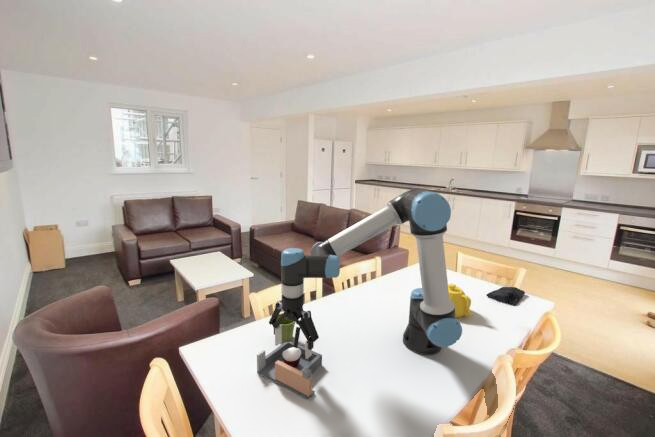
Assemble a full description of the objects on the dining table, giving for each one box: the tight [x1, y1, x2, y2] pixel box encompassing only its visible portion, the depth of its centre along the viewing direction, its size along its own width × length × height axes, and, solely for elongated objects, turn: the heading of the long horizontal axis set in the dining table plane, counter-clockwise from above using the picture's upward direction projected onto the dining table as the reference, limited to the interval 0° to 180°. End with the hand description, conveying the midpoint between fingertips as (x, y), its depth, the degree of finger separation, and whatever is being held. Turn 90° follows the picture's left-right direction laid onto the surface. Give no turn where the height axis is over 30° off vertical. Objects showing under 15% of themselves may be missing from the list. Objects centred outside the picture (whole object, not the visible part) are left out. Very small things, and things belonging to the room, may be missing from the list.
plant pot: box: [276, 312, 296, 343], centre depth 128 cm, size 9×9×9 cm
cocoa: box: [282, 326, 301, 368], centre depth 110 cm, size 10×6×12 cm, turn 134°
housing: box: [256, 340, 323, 401], centre depth 108 cm, size 22×16×7 cm
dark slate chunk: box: [486, 286, 526, 306], centre depth 174 cm, size 15×22×5 cm
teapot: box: [448, 283, 472, 319], centre depth 156 cm, size 25×18×14 cm
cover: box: [275, 360, 313, 397], centre depth 100 cm, size 14×2×8 cm, turn 57°
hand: (293, 349), depth 110 cm, fingers open, 13 cm apart
